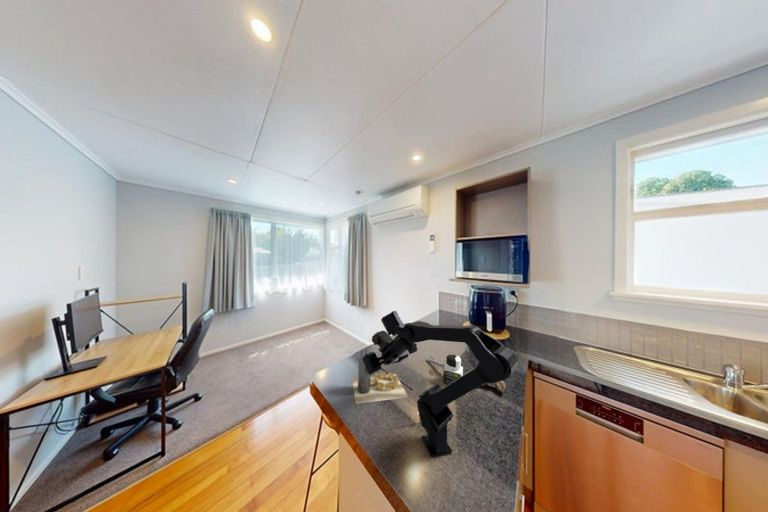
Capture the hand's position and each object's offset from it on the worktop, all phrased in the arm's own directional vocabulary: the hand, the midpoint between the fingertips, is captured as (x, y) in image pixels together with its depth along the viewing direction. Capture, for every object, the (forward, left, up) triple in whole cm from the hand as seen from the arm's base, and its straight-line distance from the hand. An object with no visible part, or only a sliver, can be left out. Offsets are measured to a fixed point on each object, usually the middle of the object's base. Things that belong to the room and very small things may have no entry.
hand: (375, 367), depth 79 cm
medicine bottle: (+4, -36, -12) cm, 38 cm away
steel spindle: (+5, +3, -11) cm, 13 cm away
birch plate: (+6, -3, -12) cm, 14 cm away
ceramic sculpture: (+1, -53, -13) cm, 54 cm away
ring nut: (+8, -6, -11) cm, 15 cm away
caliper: (+17, -36, -12) cm, 42 cm away
